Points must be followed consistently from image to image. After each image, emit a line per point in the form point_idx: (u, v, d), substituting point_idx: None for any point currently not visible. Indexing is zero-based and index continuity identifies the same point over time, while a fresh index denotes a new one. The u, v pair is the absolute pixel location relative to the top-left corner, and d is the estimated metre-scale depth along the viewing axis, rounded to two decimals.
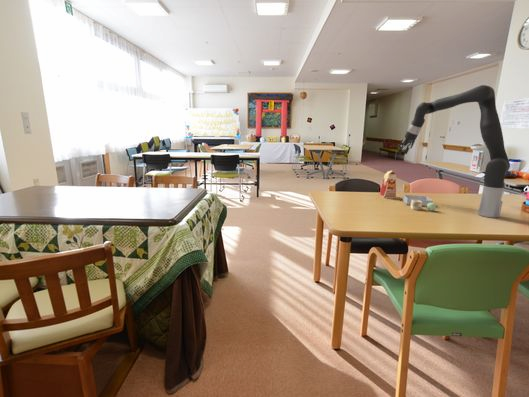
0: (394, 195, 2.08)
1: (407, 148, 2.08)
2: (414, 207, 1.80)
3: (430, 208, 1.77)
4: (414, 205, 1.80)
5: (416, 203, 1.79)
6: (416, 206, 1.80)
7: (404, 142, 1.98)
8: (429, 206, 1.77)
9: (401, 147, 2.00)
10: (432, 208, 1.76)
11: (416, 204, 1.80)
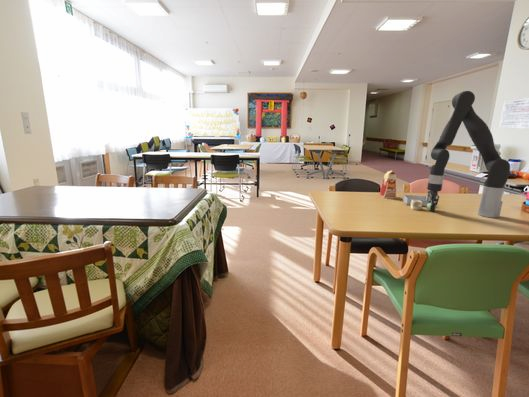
0: (394, 195, 2.08)
1: (430, 202, 1.80)
2: (414, 207, 1.80)
3: None
4: (414, 205, 1.80)
5: (416, 203, 1.79)
6: (416, 206, 1.80)
7: (438, 198, 1.70)
8: (429, 206, 1.77)
9: (437, 203, 1.72)
10: None
11: (416, 204, 1.80)
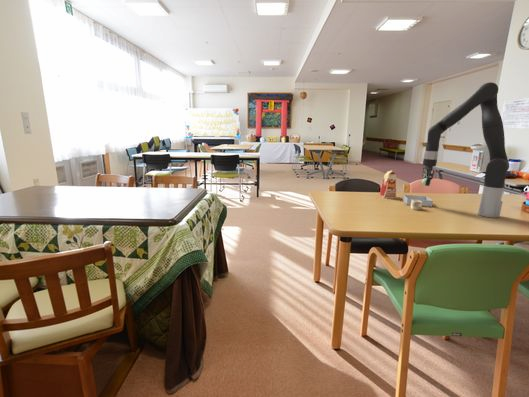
0: (394, 195, 2.08)
1: None
2: (414, 207, 1.80)
3: (425, 183, 1.85)
4: (414, 205, 1.80)
5: (416, 203, 1.79)
6: (416, 206, 1.80)
7: (433, 172, 1.79)
8: (424, 181, 1.85)
9: None
10: None
11: (416, 204, 1.80)
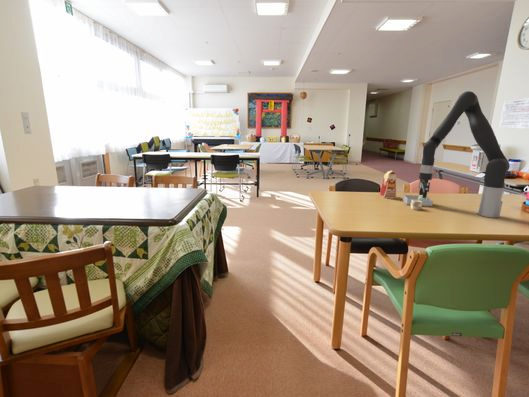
0: (394, 195, 2.08)
1: (421, 189, 1.97)
2: (414, 207, 1.80)
3: None
4: (414, 205, 1.80)
5: (416, 203, 1.79)
6: (416, 206, 1.80)
7: (429, 184, 1.85)
8: (420, 198, 1.93)
9: (428, 190, 1.86)
10: None
11: (416, 204, 1.80)
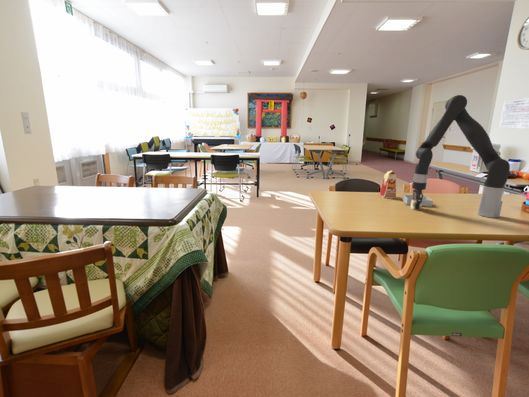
0: (394, 195, 2.08)
1: None
2: (414, 207, 1.80)
3: None
4: (414, 205, 1.80)
5: None
6: None
7: (422, 196, 1.74)
8: None
9: (421, 201, 1.76)
10: None
11: None
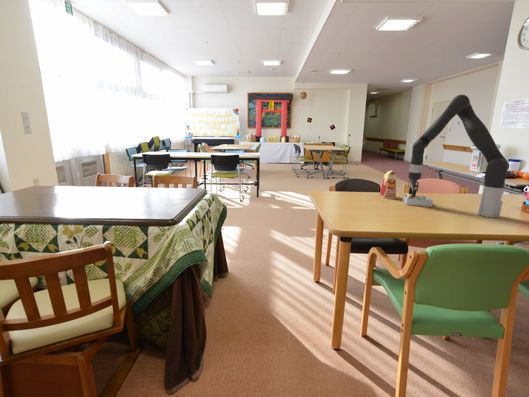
0: (394, 195, 2.08)
1: (411, 188, 1.98)
2: None
3: None
4: (409, 198, 1.94)
5: (411, 197, 1.93)
6: None
7: (418, 183, 1.86)
8: (420, 199, 1.93)
9: (417, 189, 1.87)
10: None
11: (411, 197, 1.93)
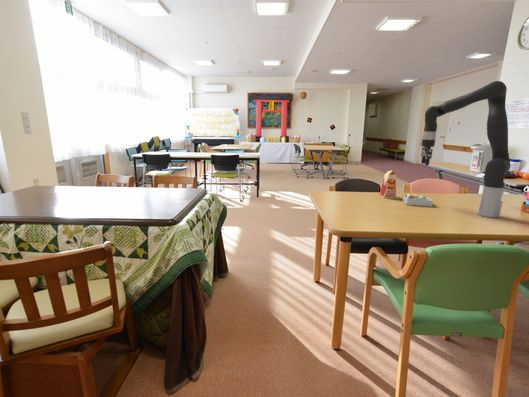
0: (394, 195, 2.08)
1: (424, 157, 1.94)
2: None
3: None
4: (409, 198, 1.94)
5: (411, 197, 1.93)
6: None
7: None
8: (420, 199, 1.93)
9: (431, 156, 1.83)
10: None
11: (411, 197, 1.93)
